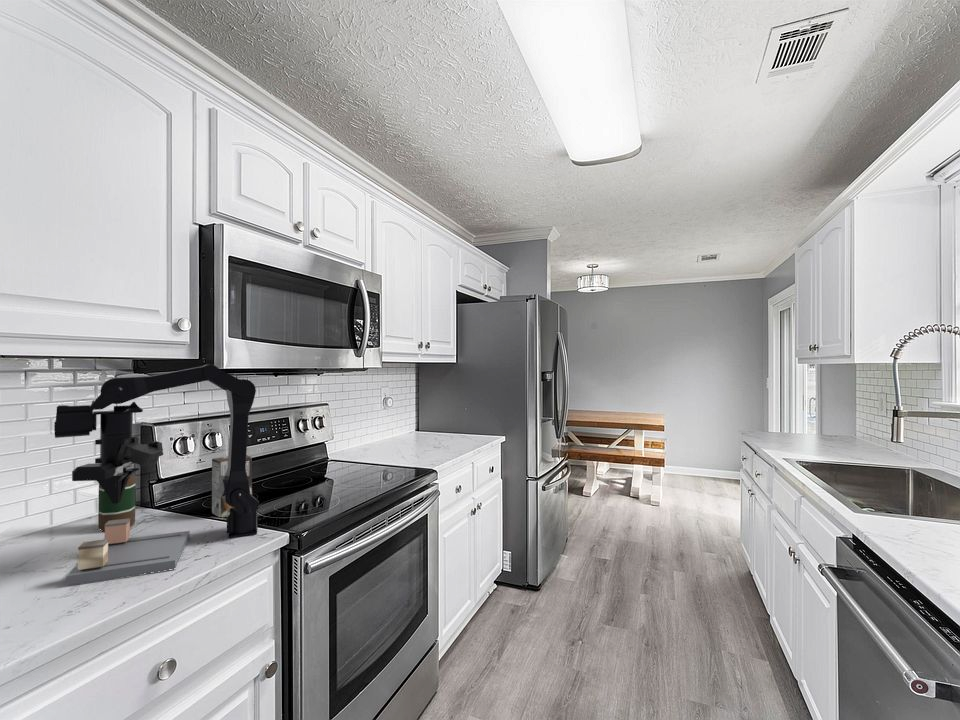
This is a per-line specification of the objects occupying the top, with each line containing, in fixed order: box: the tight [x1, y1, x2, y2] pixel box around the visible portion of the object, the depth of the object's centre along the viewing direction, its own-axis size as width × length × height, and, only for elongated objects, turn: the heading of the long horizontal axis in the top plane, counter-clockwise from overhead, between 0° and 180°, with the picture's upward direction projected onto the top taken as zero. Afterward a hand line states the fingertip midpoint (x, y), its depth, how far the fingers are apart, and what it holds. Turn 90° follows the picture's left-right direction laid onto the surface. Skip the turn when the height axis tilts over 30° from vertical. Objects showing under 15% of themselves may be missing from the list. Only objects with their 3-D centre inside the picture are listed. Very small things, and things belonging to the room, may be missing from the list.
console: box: [66, 530, 191, 587], centre depth 103 cm, size 18×19×2 cm
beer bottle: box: [97, 473, 137, 532], centre depth 124 cm, size 8×8×24 cm
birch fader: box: [77, 538, 108, 570], centre depth 94 cm, size 4×3×4 cm
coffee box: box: [211, 454, 253, 518], centre depth 137 cm, size 9×6×16 cm
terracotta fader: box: [104, 518, 131, 544], centre depth 107 cm, size 4×3×4 cm
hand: (116, 503), depth 104 cm, fingers closed
